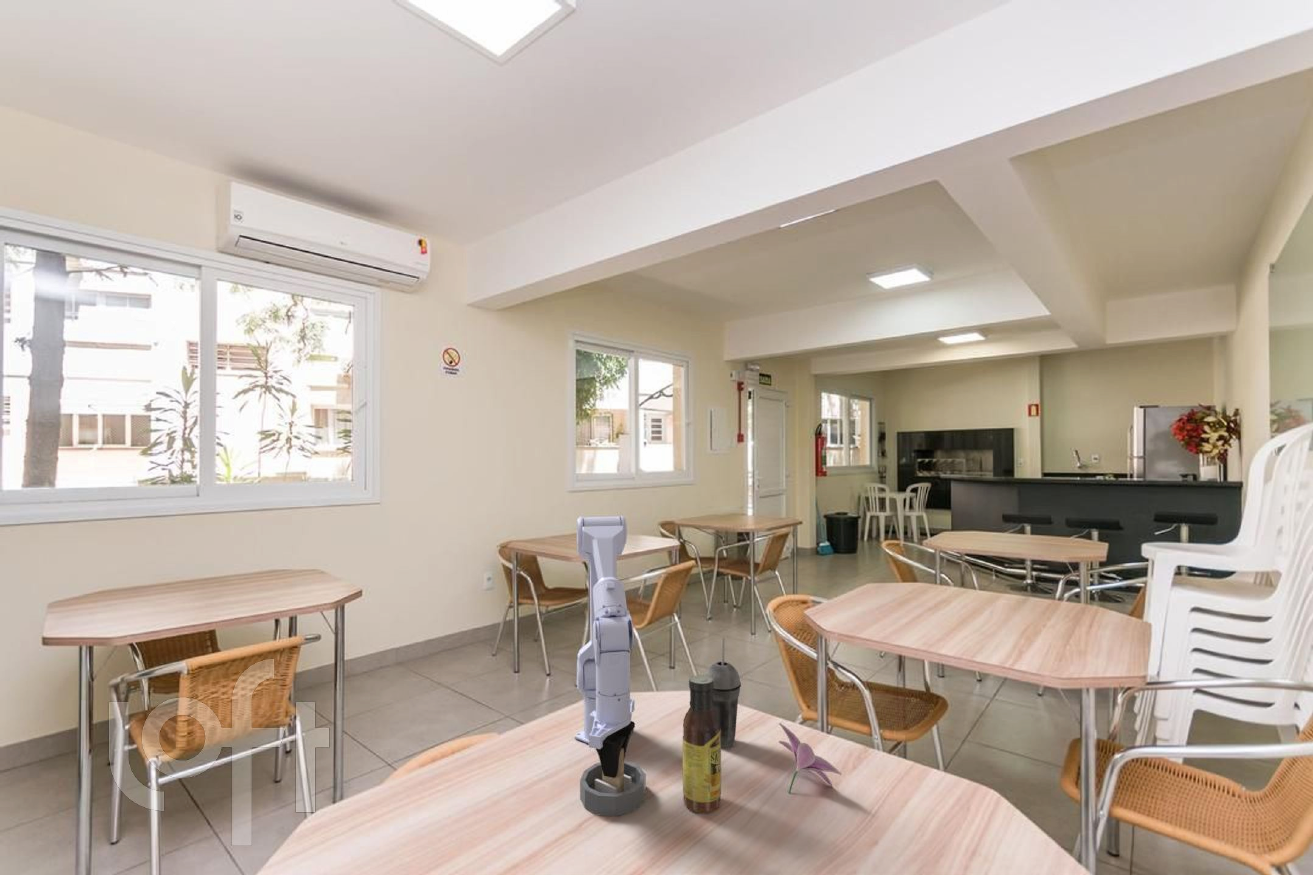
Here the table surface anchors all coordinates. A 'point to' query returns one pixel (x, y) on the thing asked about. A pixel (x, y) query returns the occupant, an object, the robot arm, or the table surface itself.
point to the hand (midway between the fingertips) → (613, 771)
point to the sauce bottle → (701, 748)
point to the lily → (807, 757)
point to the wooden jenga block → (619, 778)
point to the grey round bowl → (612, 791)
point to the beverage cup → (725, 698)
